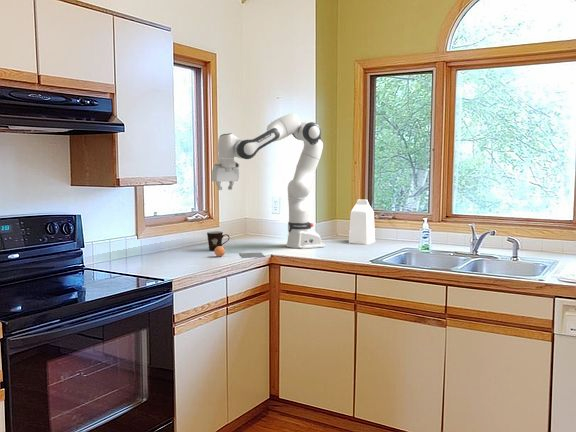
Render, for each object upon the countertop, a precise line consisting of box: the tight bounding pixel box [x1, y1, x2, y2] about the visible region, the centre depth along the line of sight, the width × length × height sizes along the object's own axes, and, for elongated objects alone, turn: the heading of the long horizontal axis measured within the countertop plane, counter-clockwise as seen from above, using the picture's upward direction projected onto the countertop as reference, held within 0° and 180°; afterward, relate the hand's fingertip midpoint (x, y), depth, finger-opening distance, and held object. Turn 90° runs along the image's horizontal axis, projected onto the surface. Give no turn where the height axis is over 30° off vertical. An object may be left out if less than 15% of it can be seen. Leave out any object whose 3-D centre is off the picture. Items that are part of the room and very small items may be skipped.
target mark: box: [239, 252, 266, 259], centre depth 289 cm, size 12×12×1 cm
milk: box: [348, 199, 376, 245], centre depth 330 cm, size 12×12×26 cm
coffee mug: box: [206, 230, 230, 252], centre depth 304 cm, size 12×9×10 cm
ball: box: [213, 245, 226, 258], centre depth 285 cm, size 6×6×6 cm
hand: (225, 189), depth 293 cm, fingers open, 8 cm apart
